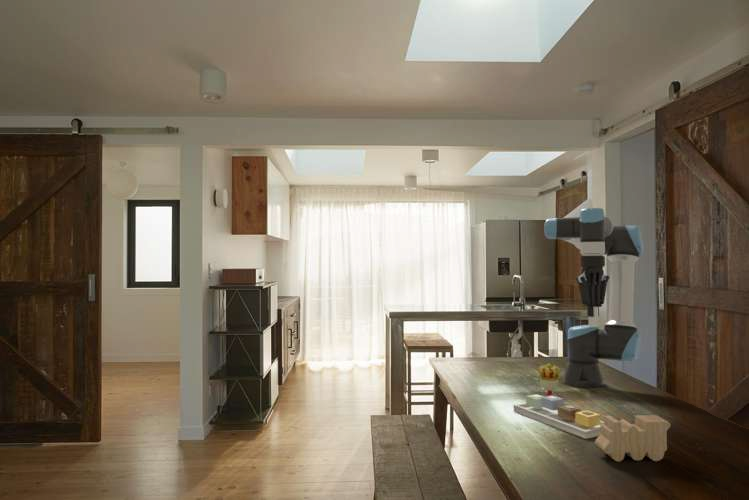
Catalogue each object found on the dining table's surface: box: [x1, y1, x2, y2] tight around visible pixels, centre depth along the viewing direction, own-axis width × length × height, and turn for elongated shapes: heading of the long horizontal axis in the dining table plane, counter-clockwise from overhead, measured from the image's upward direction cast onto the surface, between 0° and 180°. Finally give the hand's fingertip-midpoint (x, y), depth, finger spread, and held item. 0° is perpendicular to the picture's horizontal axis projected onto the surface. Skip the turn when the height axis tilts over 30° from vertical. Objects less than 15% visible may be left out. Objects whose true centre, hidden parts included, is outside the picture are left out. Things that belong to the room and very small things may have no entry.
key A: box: [575, 409, 601, 427], centre depth 155 cm, size 5×5×3 cm
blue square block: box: [541, 394, 565, 410], centre depth 168 cm, size 5×5×3 cm
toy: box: [537, 363, 561, 396], centre depth 186 cm, size 7×7×15 cm
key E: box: [525, 393, 545, 409], centre depth 174 cm, size 5×5×3 cm
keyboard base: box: [513, 402, 604, 440], centre depth 164 cm, size 12×30×2 cm, turn 26°
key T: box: [558, 404, 582, 421], centre depth 161 cm, size 5×5×3 cm
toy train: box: [594, 414, 672, 462], centre depth 135 cm, size 6×17×10 cm, turn 91°
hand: (593, 326), depth 173 cm, fingers closed
